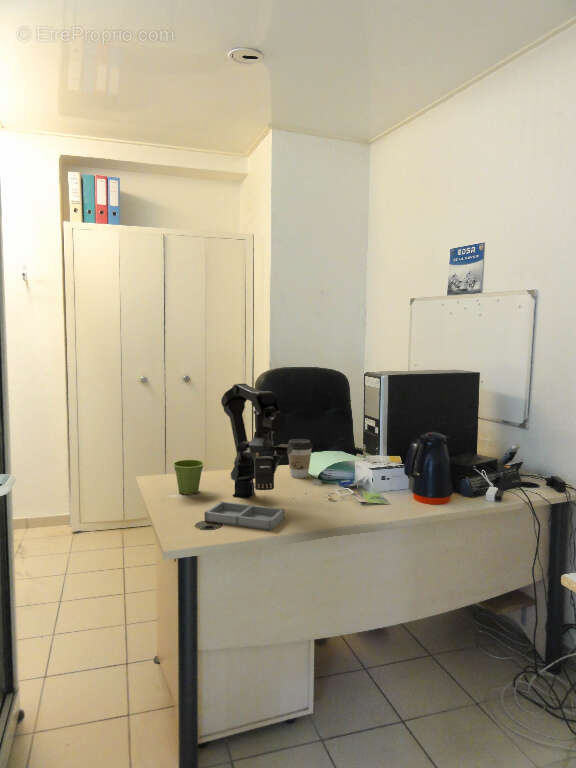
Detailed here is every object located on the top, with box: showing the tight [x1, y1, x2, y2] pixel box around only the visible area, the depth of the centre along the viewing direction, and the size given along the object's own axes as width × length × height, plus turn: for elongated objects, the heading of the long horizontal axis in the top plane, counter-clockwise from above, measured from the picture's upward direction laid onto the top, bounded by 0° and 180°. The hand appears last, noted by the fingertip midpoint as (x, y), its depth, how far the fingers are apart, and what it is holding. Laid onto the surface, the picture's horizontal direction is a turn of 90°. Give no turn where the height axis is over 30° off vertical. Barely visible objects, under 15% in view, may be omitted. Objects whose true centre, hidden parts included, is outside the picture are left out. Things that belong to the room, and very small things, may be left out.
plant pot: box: [172, 459, 205, 495], centre depth 204 cm, size 12×12×11 cm
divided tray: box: [204, 501, 285, 532], centre depth 176 cm, size 23×12×3 cm, turn 71°
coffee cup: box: [287, 438, 314, 479], centre depth 229 cm, size 11×11×15 cm
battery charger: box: [254, 456, 275, 491], centre depth 187 cm, size 7×4×11 cm, turn 96°
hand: (263, 472), depth 187 cm, fingers closed on battery charger, 7 cm apart
